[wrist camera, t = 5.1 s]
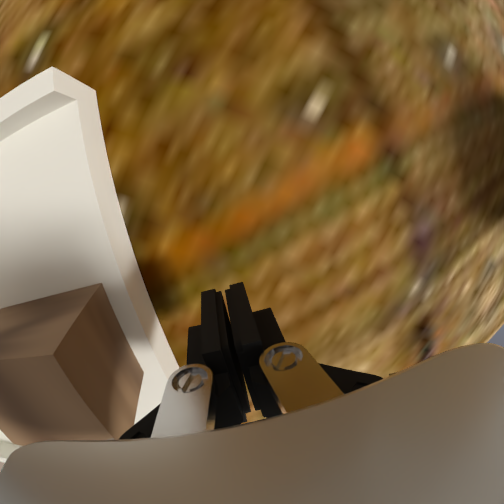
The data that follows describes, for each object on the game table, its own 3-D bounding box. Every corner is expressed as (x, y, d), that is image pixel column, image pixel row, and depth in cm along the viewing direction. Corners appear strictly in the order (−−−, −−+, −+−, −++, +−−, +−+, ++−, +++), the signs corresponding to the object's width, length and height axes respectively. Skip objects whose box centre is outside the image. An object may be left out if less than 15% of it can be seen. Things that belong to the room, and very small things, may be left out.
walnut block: (101, 282, 11) (52, 354, 6) (144, 372, 12) (129, 454, 8) (0, 308, 10) (-50, 361, 6) (43, 382, 12) (13, 444, 7)
